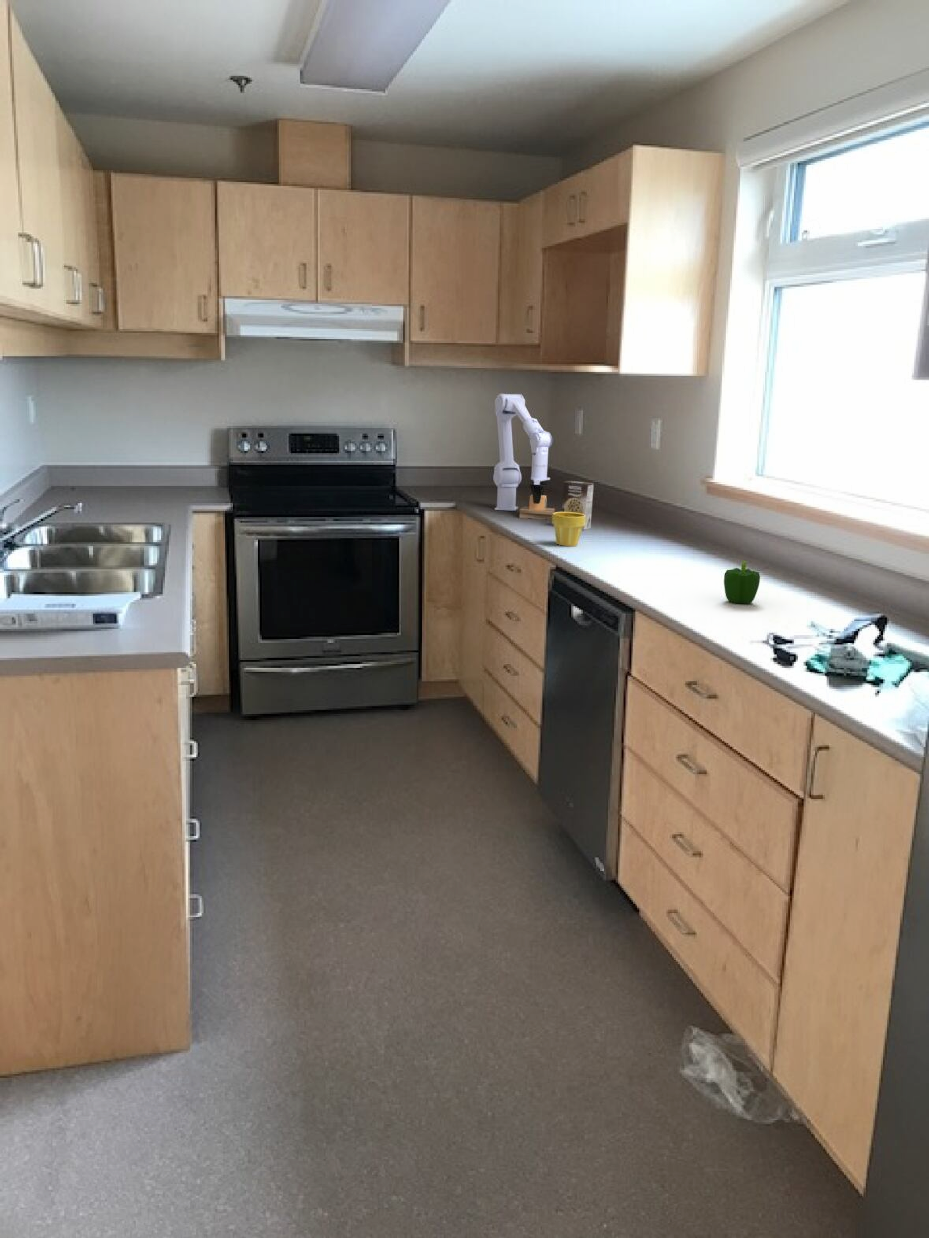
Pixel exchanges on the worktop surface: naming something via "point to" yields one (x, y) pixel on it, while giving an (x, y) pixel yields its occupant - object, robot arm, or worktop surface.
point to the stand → (537, 513)
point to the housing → (538, 506)
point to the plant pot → (568, 527)
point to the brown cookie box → (578, 499)
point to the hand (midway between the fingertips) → (537, 502)
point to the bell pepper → (741, 584)
